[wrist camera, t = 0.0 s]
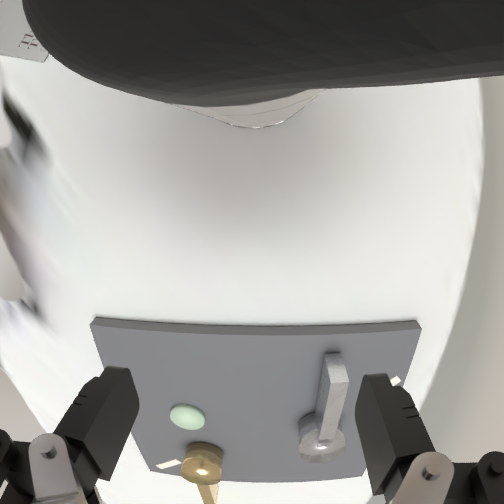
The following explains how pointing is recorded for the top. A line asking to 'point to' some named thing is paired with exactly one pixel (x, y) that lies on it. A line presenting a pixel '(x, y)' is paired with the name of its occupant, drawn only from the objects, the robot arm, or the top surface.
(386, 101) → the top surface
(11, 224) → the top surface
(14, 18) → the skincare box
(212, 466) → the brass door handle
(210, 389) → the board
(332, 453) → the chrome lever handle
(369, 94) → the top surface
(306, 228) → the top surface
